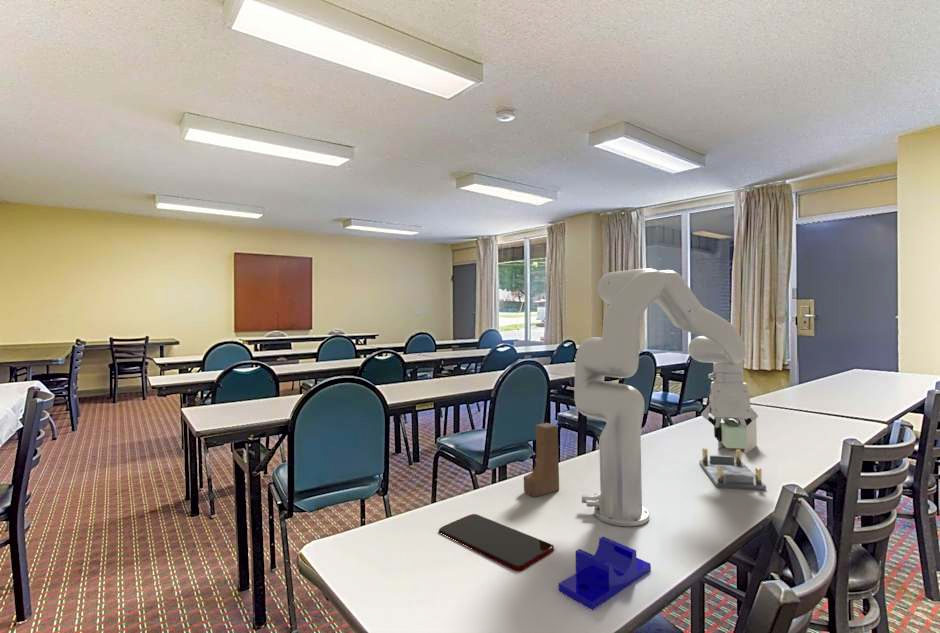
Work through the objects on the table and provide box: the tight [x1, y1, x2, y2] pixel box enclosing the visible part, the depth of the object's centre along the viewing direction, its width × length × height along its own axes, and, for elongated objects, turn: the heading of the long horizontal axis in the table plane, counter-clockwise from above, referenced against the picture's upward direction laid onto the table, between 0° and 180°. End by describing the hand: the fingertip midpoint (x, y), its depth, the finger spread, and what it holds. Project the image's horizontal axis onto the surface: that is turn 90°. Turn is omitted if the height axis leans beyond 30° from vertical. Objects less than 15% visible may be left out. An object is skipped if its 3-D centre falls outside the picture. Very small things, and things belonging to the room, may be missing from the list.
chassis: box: [698, 447, 767, 491], centre depth 139 cm, size 12×20×5 cm, turn 167°
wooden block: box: [523, 422, 560, 498], centre depth 131 cm, size 9×4×18 cm, turn 119°
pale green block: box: [720, 418, 747, 449], centre depth 139 cm, size 5×13×6 cm, turn 167°
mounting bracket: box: [558, 536, 652, 611], centre depth 88 cm, size 18×7×6 cm, turn 129°
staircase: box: [717, 410, 758, 454], centre depth 166 cm, size 9×11×17 cm
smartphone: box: [438, 513, 555, 572], centre depth 105 cm, size 12×2×25 cm
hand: (729, 439), depth 139 cm, fingers closed on pale green block, 5 cm apart
